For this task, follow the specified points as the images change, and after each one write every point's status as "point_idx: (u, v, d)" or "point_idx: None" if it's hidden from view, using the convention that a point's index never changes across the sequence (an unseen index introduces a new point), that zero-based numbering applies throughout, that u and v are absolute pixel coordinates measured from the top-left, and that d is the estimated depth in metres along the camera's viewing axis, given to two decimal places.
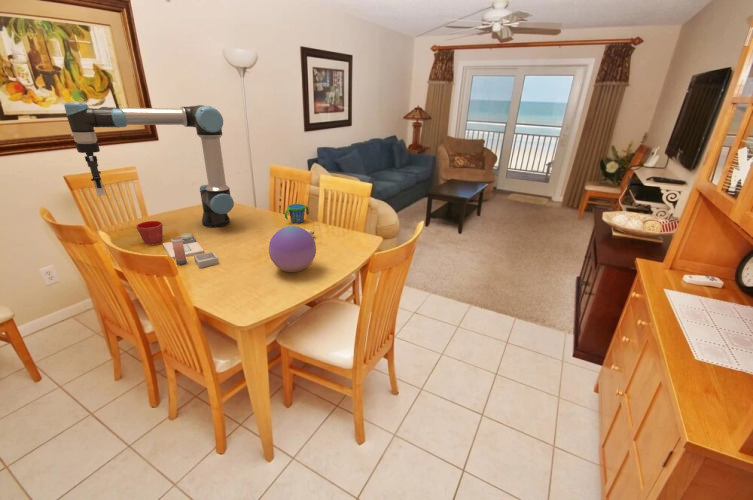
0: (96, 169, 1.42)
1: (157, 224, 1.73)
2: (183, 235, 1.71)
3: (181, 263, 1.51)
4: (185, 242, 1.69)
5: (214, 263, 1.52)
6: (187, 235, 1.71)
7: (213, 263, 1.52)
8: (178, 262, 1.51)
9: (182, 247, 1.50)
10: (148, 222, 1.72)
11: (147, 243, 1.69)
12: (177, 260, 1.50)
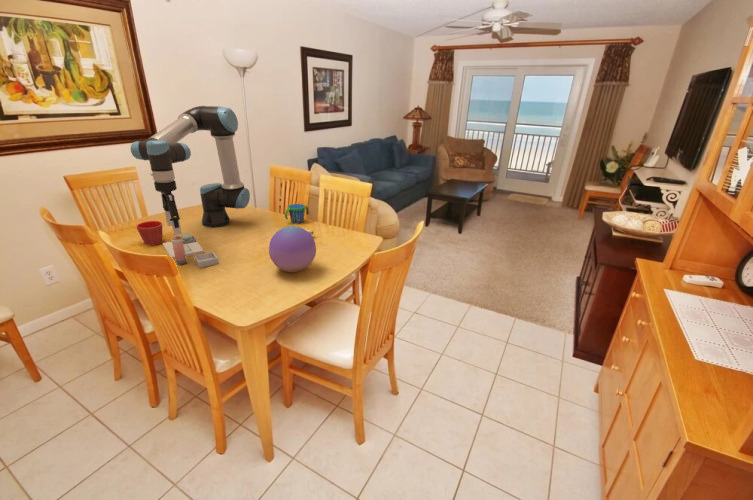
0: (175, 209, 1.36)
1: (157, 224, 1.73)
2: (183, 235, 1.71)
3: (181, 263, 1.51)
4: (185, 242, 1.69)
5: (214, 263, 1.52)
6: (187, 235, 1.71)
7: (213, 263, 1.52)
8: (178, 262, 1.51)
9: (182, 247, 1.50)
10: (148, 222, 1.72)
11: (147, 243, 1.69)
12: (177, 260, 1.50)
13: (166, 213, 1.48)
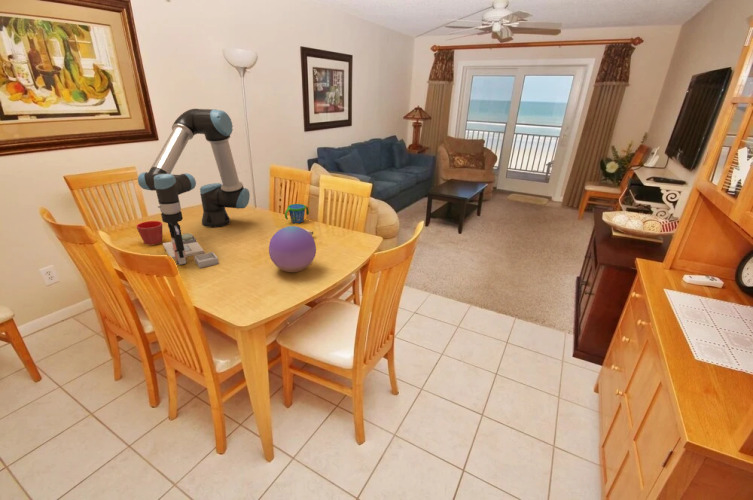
0: (181, 242, 1.45)
1: (157, 224, 1.73)
2: (183, 235, 1.71)
3: None
4: (185, 242, 1.69)
5: (214, 263, 1.52)
6: (187, 235, 1.71)
7: (213, 263, 1.52)
8: (178, 262, 1.51)
9: None
10: (148, 222, 1.72)
11: (147, 243, 1.69)
12: (177, 260, 1.50)
13: None
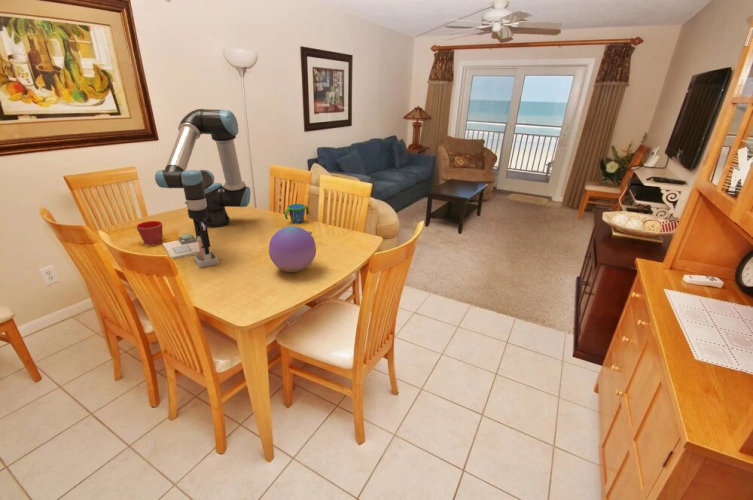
0: (207, 238, 1.45)
1: (157, 224, 1.73)
2: (183, 235, 1.71)
3: None
4: (185, 242, 1.69)
5: (214, 263, 1.52)
6: (187, 235, 1.71)
7: (213, 263, 1.52)
8: (203, 260, 1.52)
9: None
10: (148, 222, 1.72)
11: (147, 243, 1.69)
12: (202, 258, 1.51)
13: None
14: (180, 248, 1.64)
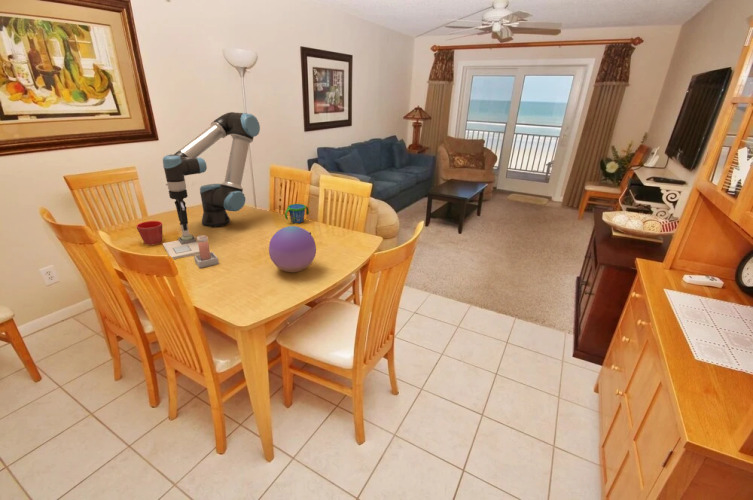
0: (186, 217, 1.64)
1: (157, 224, 1.73)
2: None
3: None
4: (185, 242, 1.69)
5: (214, 263, 1.52)
6: (187, 236, 1.71)
7: (213, 263, 1.52)
8: None
9: (207, 246, 1.50)
10: (148, 222, 1.72)
11: (147, 243, 1.69)
12: (202, 259, 1.51)
13: None
14: (180, 248, 1.64)
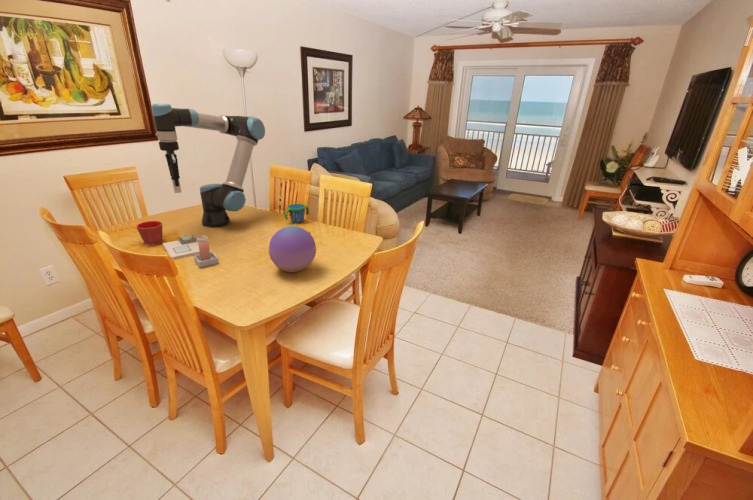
0: (177, 170, 1.55)
1: (157, 224, 1.73)
2: (183, 237, 1.71)
3: None
4: (185, 242, 1.69)
5: (214, 263, 1.52)
6: (187, 237, 1.71)
7: (213, 263, 1.52)
8: None
9: (207, 246, 1.50)
10: (148, 222, 1.72)
11: (147, 243, 1.69)
12: (202, 259, 1.51)
13: None
14: (180, 248, 1.64)
